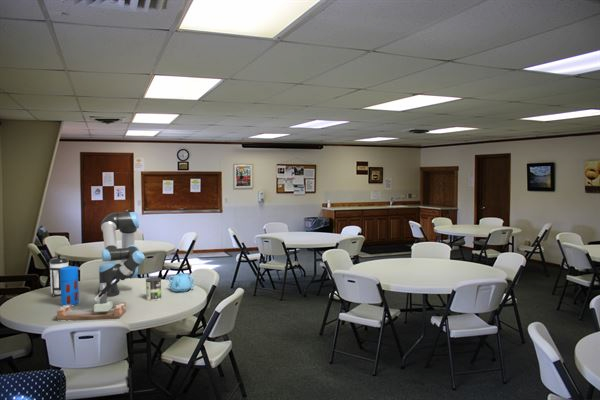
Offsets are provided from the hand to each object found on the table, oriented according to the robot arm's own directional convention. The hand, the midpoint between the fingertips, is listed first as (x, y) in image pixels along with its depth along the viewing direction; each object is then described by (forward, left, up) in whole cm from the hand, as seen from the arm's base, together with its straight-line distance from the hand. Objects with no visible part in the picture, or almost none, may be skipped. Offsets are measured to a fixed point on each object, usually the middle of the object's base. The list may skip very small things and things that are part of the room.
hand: (97, 299), depth 282 cm
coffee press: (-57, -45, -11) cm, 73 cm away
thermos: (-30, -28, -11) cm, 42 cm away
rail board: (0, -3, -11) cm, 11 cm away
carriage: (0, +4, -6) cm, 7 cm away
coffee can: (-37, +26, -11) cm, 47 cm away
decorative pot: (-58, +42, -11) cm, 72 cm away
